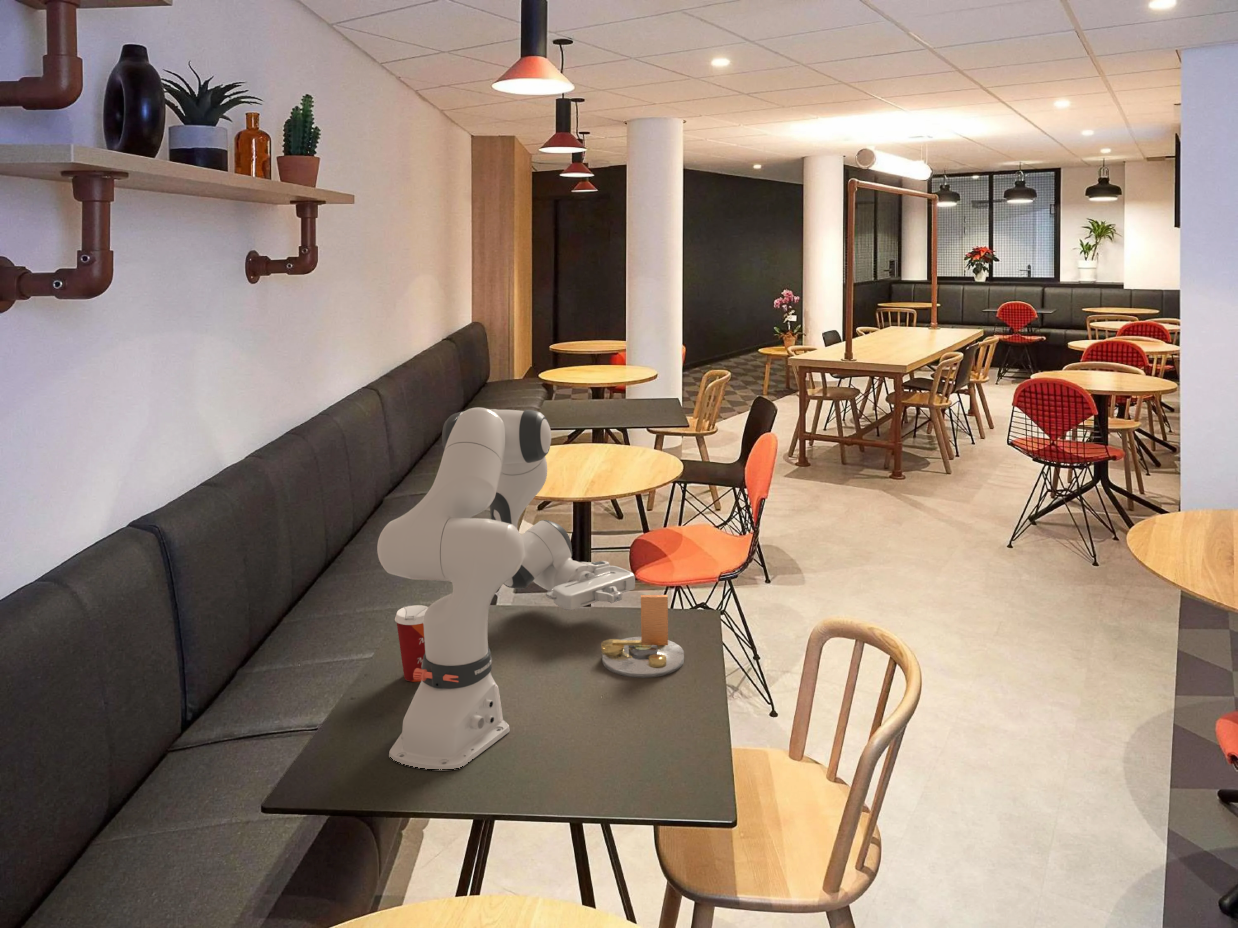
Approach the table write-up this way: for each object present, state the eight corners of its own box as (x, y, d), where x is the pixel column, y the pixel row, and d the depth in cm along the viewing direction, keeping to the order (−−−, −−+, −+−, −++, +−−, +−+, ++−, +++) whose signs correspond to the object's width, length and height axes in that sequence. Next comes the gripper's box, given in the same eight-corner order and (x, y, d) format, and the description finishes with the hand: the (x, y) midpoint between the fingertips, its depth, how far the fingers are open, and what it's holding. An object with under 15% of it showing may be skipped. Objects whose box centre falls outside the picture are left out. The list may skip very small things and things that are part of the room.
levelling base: (671, 682, 189) (671, 667, 188) (590, 671, 194) (590, 657, 194) (692, 648, 205) (692, 634, 204) (617, 639, 210) (617, 625, 209)
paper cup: (433, 684, 190) (428, 618, 187) (394, 684, 190) (389, 618, 187) (441, 667, 198) (437, 603, 194) (404, 667, 198) (399, 603, 195)
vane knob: (600, 656, 197) (599, 600, 194) (601, 646, 202) (600, 592, 199) (668, 655, 197) (667, 600, 194) (667, 646, 201) (667, 591, 199)
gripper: (541, 580, 212) (580, 596, 202) (610, 558, 225) (650, 573, 215) (542, 606, 214) (581, 624, 204) (611, 584, 227) (651, 599, 217)
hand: (617, 598), depth 210 cm, fingers closed
